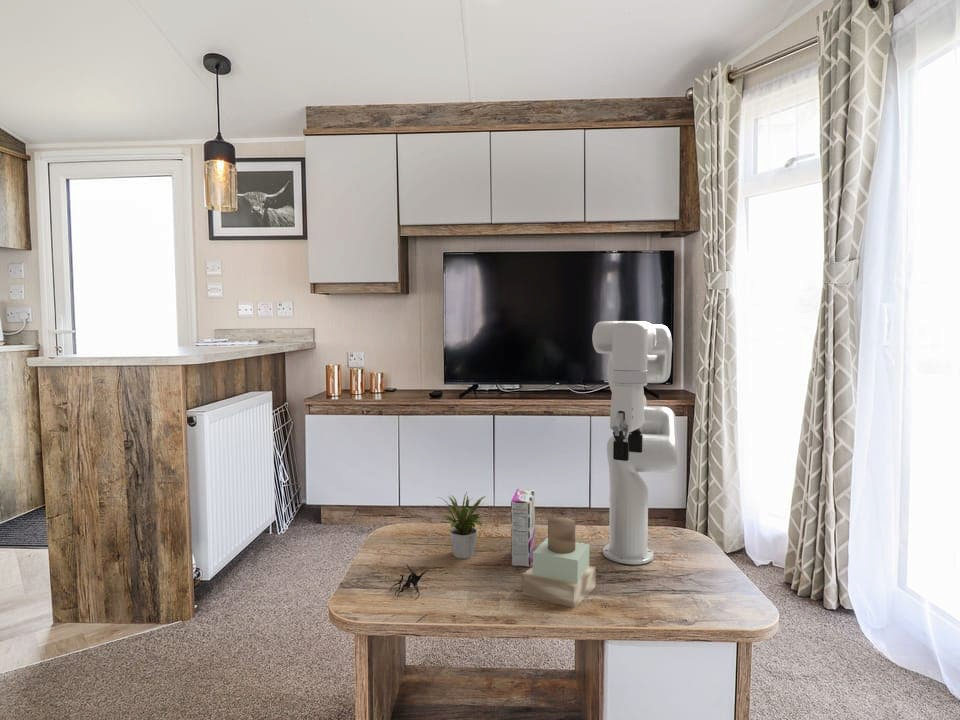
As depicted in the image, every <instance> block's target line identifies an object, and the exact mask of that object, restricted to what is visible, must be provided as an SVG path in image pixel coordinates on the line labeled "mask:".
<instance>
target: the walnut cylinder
mask: <svg viewBox="0 0 960 720" xmlns="http://www.w3.org/2000/svg"><path fill="white" fill-rule="evenodd" d="M547 538H548V549H549V550H550V551H552V552H555V553H561V554H565V553H571V552H573V551H575V542H576V521H575V520H574V519H573V518H569V517H563V516H562V517H558V516H557V517H551V518H550V519H548V520H547Z"/></svg>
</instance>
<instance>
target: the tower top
mask: <svg viewBox="0 0 960 720" xmlns="http://www.w3.org/2000/svg"><path fill="white" fill-rule="evenodd" d="M589 566H590V544H589V543H584V542H578V541H575V551H573V552H571V553H565V554H561V553H555V552H552V551H550V550H549V549H548V537H546V538H545V539H544V541H542V542H541V543H540V544H539V545H538V546H537V548H535V551H534V552H533V558H532V567H533V575H535V576H540V577H546V578H551V579H556V580H562V581H567V582H572V583H577V584H578V582H579V581H580V579H581V578H582V576H583V575H584V573H585V572H586V570H587V569H588V567H589Z"/></svg>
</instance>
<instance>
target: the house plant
mask: <svg viewBox="0 0 960 720" xmlns="http://www.w3.org/2000/svg"><path fill="white" fill-rule="evenodd" d="M467 493H468V491H467V492H466V493H465V494H464V497H463V501H462V508H461V509H459V506H458V502H457V499H456V497H455V496H453V495H452V494H450V496H449V497H448V499H449V500H450V502H451V504H449V503H448V501H446V500H445V499H444V498H442V497H439V496H437V499H441V500H443V501H444V502H445V503H446V505H447V506H448V507H449V508H447V507H445V509H446V510H447V511H448V512H449V514H450V515H451V516H450V515H449V514H444V515H443V516H442V517H441V518H443V519H444V523H445V522H447V521H448V523H450V526H451V528H450V531H449V533H450V540H451V541H450V542H451V546H452V552H453V553H452V554H453V556H454V557H455V558H458V559H469V558H472V557H473V556H474V555H475V548H476V542H477V536H478V529H477V528H476V524H477V525H478V526H480V528H481V529H482V526H483V524H482V522H481V521H479V519H480V518H482V517H483V516H482V515H481V513H474V512H475V511H476V510H477V508H478V507H479V506H480V507H481V505H483V503H481V502H482V500H483V499H485V498H486V495H485V496H481V497H480V498H479V499H477V500H476V502H475V503H474V504H473V505H472V507H471V509H470V510H469V506H470V501H471V500H472V498H471V499H469V496H468V495H467ZM451 496H452V497H451ZM465 499H466V500H465ZM480 503H481V504H480ZM468 511H469V513H468ZM455 517H456V518H455Z"/></svg>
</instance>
